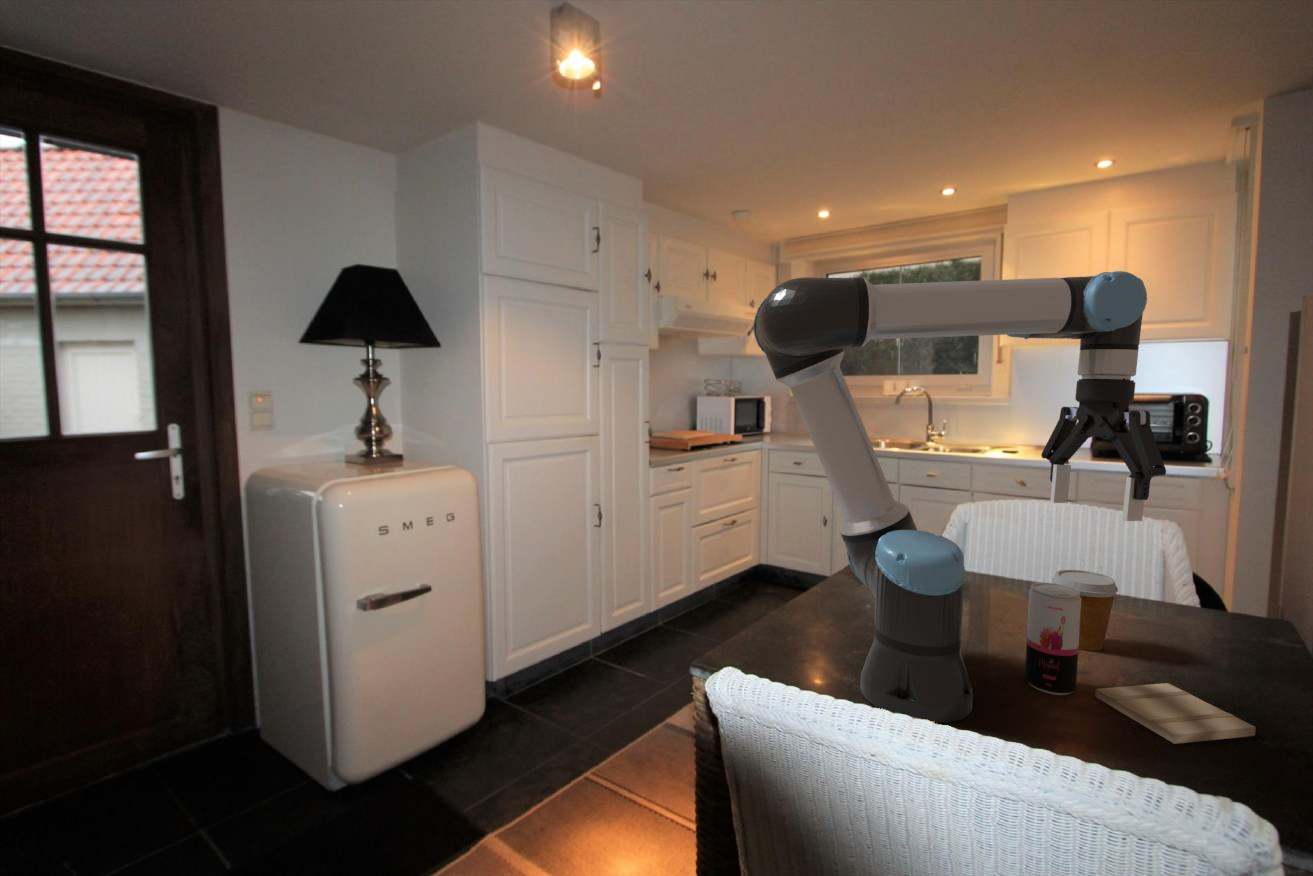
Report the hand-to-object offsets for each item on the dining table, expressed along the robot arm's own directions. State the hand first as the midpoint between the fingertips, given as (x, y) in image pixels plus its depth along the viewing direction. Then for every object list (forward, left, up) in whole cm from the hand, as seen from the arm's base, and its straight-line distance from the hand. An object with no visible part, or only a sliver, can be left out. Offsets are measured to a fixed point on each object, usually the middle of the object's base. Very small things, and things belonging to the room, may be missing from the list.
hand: (1093, 511), depth 100 cm
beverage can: (-12, -6, -25) cm, 29 cm away
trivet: (-1, -16, -25) cm, 30 cm away
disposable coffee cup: (+5, +7, -25) cm, 27 cm away
